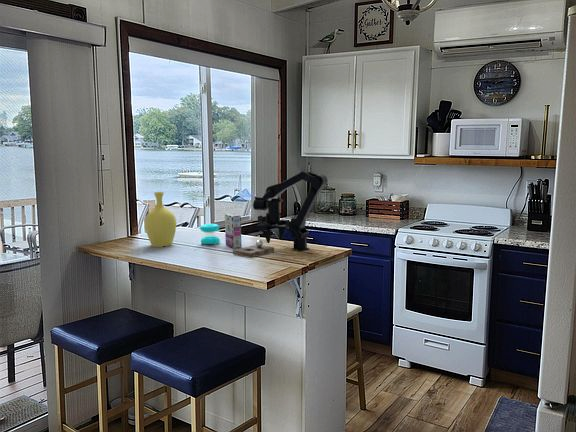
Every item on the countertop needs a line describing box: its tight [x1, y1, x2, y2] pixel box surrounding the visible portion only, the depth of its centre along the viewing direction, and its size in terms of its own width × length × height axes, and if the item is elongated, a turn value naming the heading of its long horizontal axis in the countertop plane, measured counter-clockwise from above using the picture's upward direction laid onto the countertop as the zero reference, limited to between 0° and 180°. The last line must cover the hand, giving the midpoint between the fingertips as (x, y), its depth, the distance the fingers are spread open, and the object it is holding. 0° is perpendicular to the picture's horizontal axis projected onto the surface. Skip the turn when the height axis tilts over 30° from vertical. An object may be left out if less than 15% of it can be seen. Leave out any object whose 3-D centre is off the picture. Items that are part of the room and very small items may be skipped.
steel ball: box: [255, 239, 264, 247], centre depth 242 cm, size 4×4×4 cm
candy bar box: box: [224, 213, 243, 249], centre depth 255 cm, size 11×5×16 cm, turn 27°
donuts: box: [199, 223, 221, 245], centre depth 265 cm, size 10×10×10 cm
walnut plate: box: [232, 244, 275, 259], centre depth 240 cm, size 16×12×2 cm
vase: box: [144, 191, 177, 248], centre depth 262 cm, size 16×16×28 cm
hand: (274, 241), depth 251 cm, fingers open, 9 cm apart
